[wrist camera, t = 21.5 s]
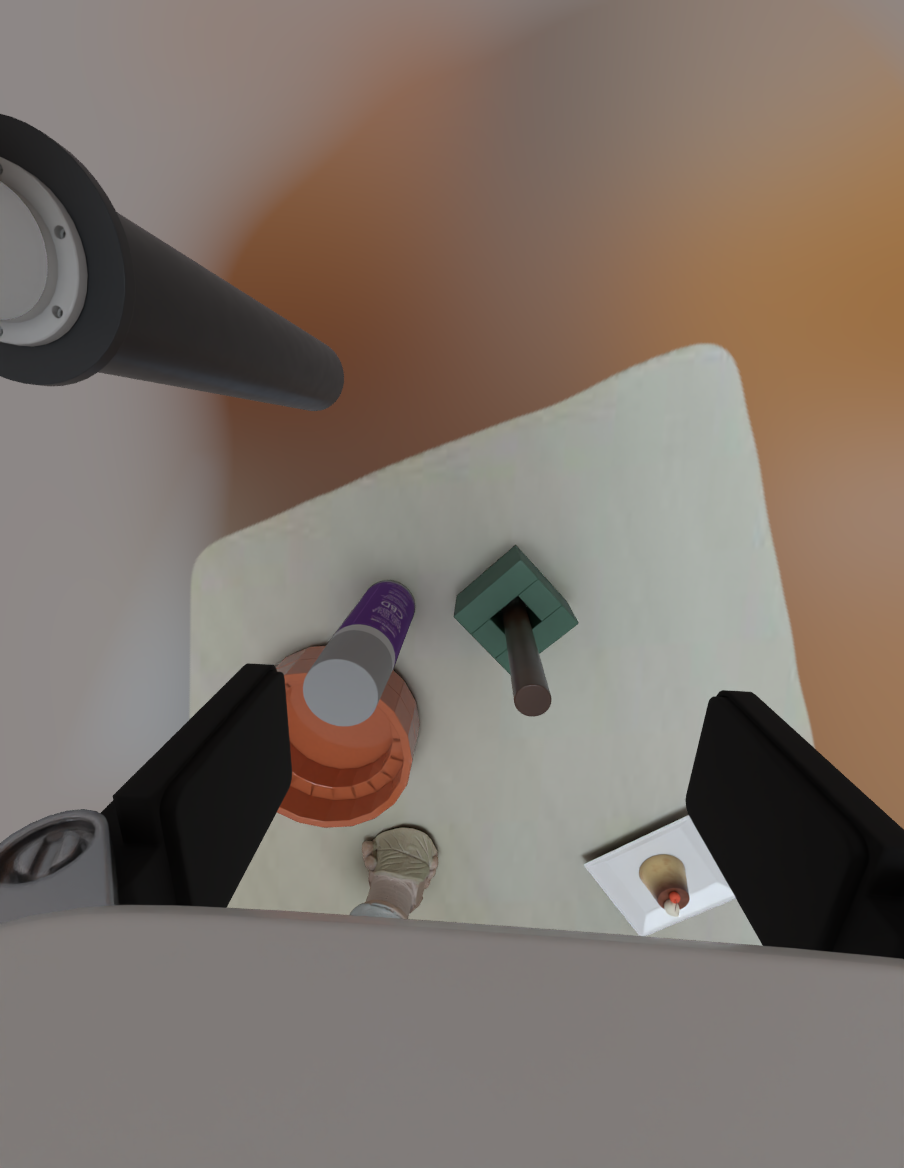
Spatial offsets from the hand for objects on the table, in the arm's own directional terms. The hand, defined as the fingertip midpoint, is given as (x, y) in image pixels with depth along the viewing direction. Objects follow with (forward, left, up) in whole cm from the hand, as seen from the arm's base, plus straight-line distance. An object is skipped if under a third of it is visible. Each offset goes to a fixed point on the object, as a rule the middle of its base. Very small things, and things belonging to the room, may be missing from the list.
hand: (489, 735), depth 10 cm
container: (0, -11, -30) cm, 32 cm away
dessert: (+40, -11, -30) cm, 51 cm away
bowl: (+5, -23, -29) cm, 37 cm away
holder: (+7, -3, -29) cm, 30 cm away
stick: (+7, -3, -29) cm, 30 cm away
